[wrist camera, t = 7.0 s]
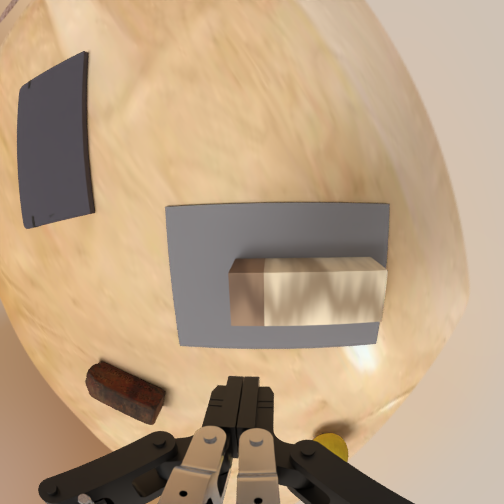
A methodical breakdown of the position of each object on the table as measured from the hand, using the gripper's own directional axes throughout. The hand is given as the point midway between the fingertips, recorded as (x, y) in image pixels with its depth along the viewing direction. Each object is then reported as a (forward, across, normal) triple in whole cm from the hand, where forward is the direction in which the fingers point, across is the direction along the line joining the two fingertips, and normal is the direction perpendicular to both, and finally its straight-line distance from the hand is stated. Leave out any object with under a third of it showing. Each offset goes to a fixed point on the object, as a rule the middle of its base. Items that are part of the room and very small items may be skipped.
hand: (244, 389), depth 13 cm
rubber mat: (+18, -2, 0) cm, 18 cm away
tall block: (+15, +2, 0) cm, 15 cm away
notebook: (+19, +26, -18) cm, 37 cm away
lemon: (+17, -9, +24) cm, 31 cm away
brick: (+18, +18, +16) cm, 30 cm away
